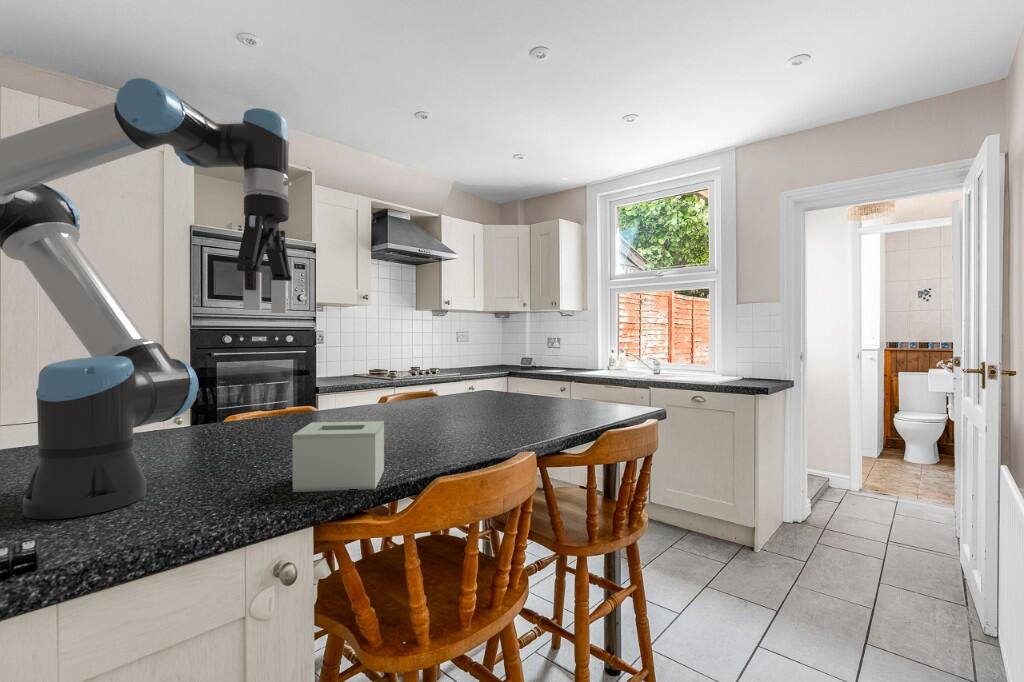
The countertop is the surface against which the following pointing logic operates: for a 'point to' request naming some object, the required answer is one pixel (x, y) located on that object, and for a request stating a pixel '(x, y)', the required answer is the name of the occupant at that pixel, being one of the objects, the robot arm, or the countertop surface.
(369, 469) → the coin box
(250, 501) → the countertop surface
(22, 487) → the countertop surface
